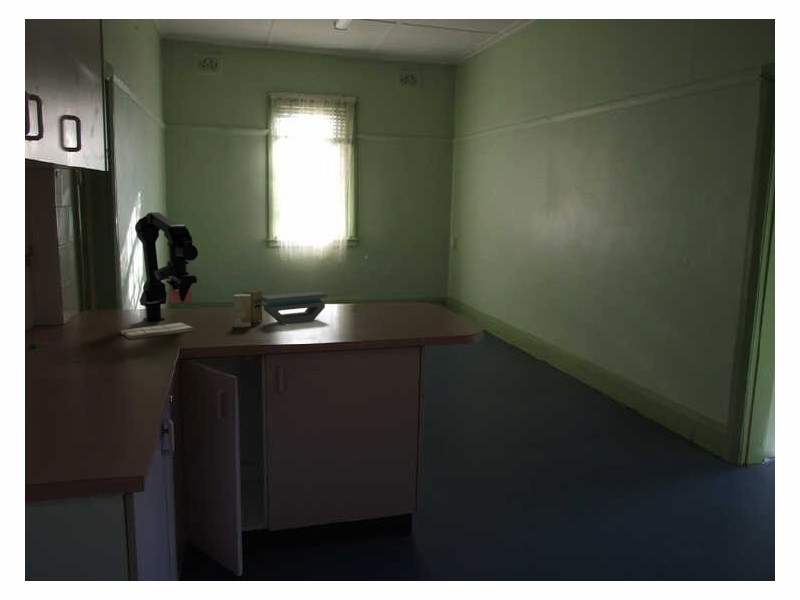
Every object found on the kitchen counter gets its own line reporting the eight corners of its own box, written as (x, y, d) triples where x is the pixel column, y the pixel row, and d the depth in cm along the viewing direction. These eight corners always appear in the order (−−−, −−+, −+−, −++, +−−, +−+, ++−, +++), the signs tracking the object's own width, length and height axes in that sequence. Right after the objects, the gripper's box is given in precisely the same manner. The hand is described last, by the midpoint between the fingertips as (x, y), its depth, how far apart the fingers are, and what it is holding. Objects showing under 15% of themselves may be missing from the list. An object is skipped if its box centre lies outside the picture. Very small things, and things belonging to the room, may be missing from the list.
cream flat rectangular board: (120, 333, 221) (120, 330, 221) (181, 325, 235) (180, 322, 235) (131, 339, 212) (131, 335, 212) (193, 330, 226) (193, 327, 226)
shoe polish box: (244, 321, 244) (243, 291, 242) (252, 319, 248) (251, 290, 246) (254, 322, 242) (253, 292, 240) (262, 320, 246) (261, 290, 244)
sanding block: (168, 303, 227) (168, 290, 226) (187, 301, 231) (186, 288, 231) (173, 304, 224) (172, 291, 223) (191, 302, 229) (191, 289, 228)
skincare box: (234, 327, 232) (233, 296, 230) (234, 325, 236) (233, 294, 234) (251, 326, 234) (250, 295, 232) (251, 324, 238) (250, 293, 236)
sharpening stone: (268, 326, 234) (267, 298, 232) (261, 323, 241) (260, 296, 239) (327, 320, 247) (327, 293, 245) (319, 317, 254) (319, 291, 252)
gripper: (146, 257, 226) (148, 299, 229) (166, 262, 213) (168, 306, 215) (175, 256, 234) (178, 296, 236) (196, 260, 220) (198, 302, 223)
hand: (180, 300), depth 227 cm, fingers closed on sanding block, 4 cm apart
